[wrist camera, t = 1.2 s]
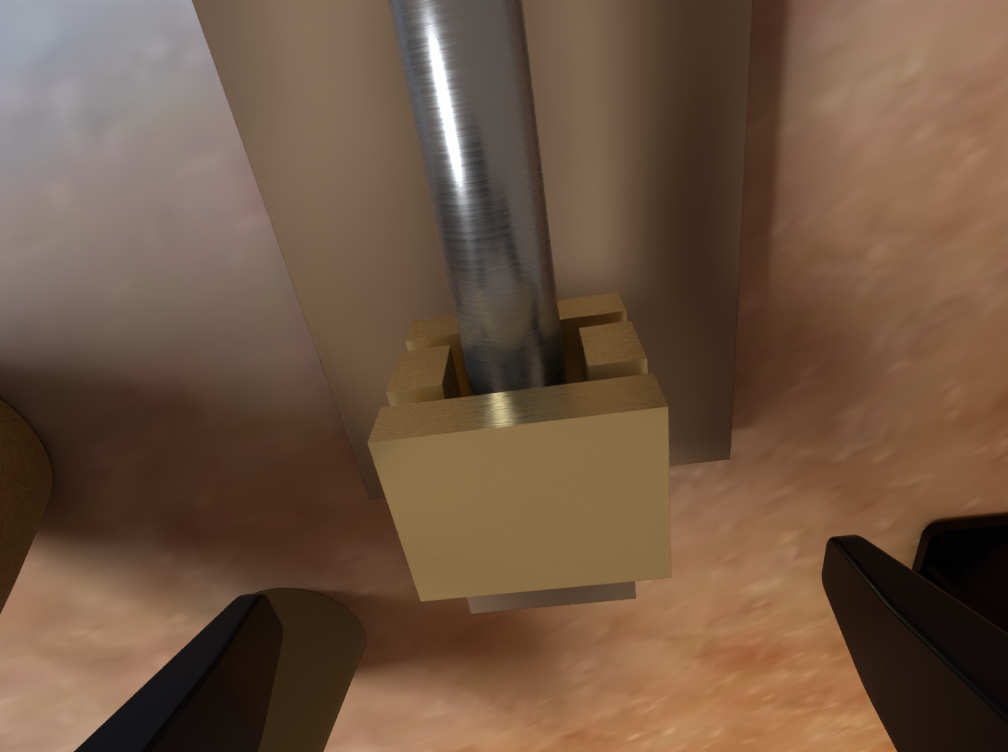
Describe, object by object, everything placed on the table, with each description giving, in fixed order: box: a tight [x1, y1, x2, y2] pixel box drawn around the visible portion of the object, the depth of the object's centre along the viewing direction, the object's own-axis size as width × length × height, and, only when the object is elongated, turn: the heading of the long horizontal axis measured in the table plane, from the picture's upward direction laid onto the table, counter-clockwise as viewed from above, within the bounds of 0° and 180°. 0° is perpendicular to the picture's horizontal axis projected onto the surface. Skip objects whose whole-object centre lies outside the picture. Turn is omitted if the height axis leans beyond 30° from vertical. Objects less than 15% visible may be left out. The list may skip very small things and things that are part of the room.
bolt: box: [387, 0, 567, 396], centre depth 11 cm, size 6×19×6 cm, turn 9°
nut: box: [368, 292, 671, 601], centre depth 13 cm, size 5×4×5 cm
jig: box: [192, 0, 753, 614], centre depth 12 cm, size 12×21×7 cm, turn 9°
